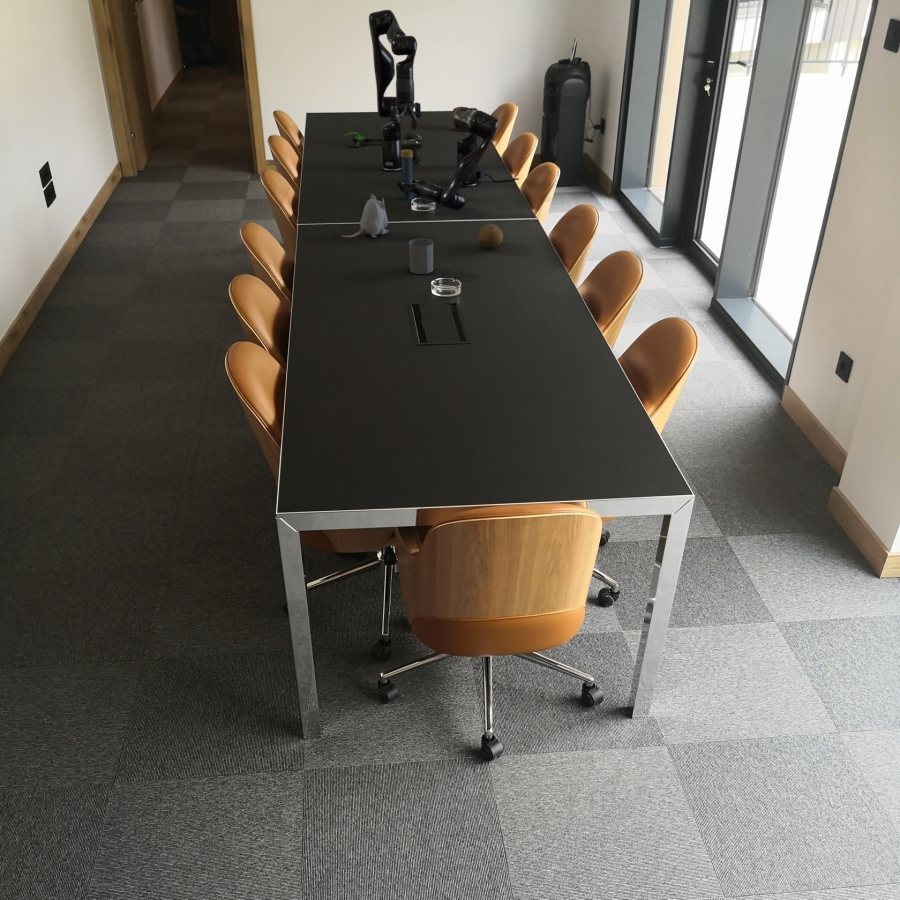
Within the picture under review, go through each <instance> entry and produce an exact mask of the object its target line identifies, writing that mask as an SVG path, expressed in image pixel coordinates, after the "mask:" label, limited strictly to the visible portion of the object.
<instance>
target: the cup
mask: <svg viewBox="0 0 900 900" xmlns="http://www.w3.org/2000/svg"><path fill="white" fill-rule="evenodd" d="M408 253H409V272H411V273H412V274H416V275H426V274H430V273H432V272H434V241H433V240H431V239H428V238H422V237H421V238H420V237H419V238H414V239H411V240H410V241H409V242H408Z"/></svg>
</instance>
